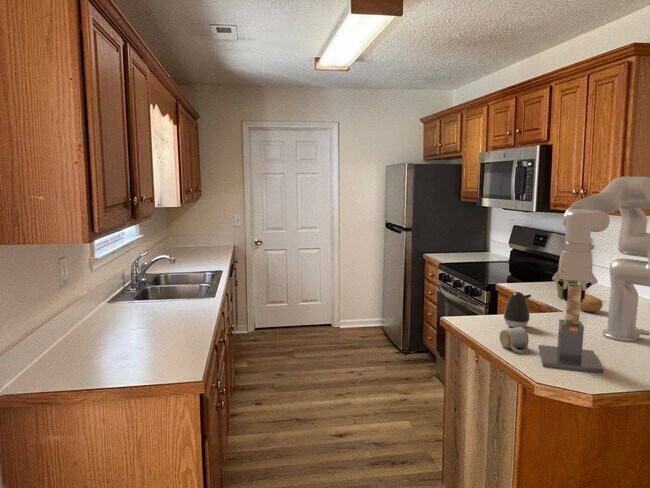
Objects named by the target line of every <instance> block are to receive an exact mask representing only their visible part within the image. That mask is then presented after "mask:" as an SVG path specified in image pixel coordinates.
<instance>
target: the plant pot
mask: <svg viewBox="0 0 650 488" xmlns="http://www.w3.org/2000/svg"><path fill="white" fill-rule="evenodd" d="M558 279H559V280H561V279H560V278H559V277H558ZM561 281H562V282H563V280H561ZM578 282H579V281H568V284H579V283H578ZM555 284H556V292H557V297H558V299H559V300H564V298H562V291H563V288H562V287H561V286H560V285H559V284H558V283H557V282H555Z"/></svg>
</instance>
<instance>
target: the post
mask: <svg viewBox="0 0 650 488" xmlns="http://www.w3.org/2000/svg"><path fill="white" fill-rule="evenodd" d="M581 288H582V287H581V283H580V284H579V283H577V284H568V285H567V289H568V296H567V301H565V302H564V303H565V305H564V317H563V318H564V319H563V320H564V324H566V325H577V326H579V321H580V313H581V309H580V302H581Z"/></svg>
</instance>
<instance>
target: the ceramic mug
mask: <svg viewBox="0 0 650 488" xmlns="http://www.w3.org/2000/svg"><path fill="white" fill-rule="evenodd" d="M529 341H530V340H529V335H528V332H527V330H526V329H525V327H516V328H512V327H509V328H505V329H502V330H501V331H500V332H499V342H500V344H501V346H502V347H503V348H505V349H509V350H510V349H511V350H512V352H513V351H514V352H515V353H517V354H519V355H520V354H521V355H522V354H526V353H527V352H528V348H529V347H528V345H529ZM524 348H525V349H524ZM521 349H522V350H521Z"/></svg>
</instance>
